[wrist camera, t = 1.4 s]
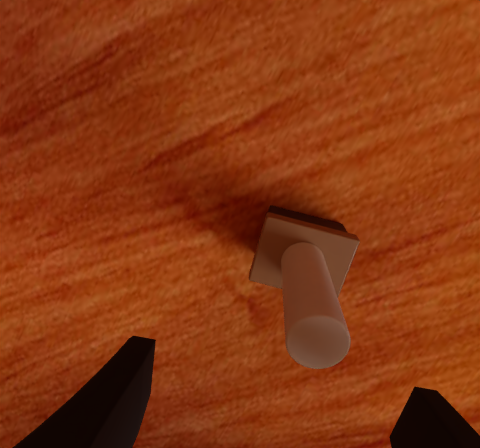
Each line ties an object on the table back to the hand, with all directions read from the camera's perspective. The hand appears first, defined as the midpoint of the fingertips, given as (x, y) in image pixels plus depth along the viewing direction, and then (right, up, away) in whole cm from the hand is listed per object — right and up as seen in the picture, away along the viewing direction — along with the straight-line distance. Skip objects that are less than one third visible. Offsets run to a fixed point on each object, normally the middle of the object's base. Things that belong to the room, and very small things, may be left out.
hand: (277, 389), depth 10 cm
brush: (+2, +4, +9) cm, 10 cm away
